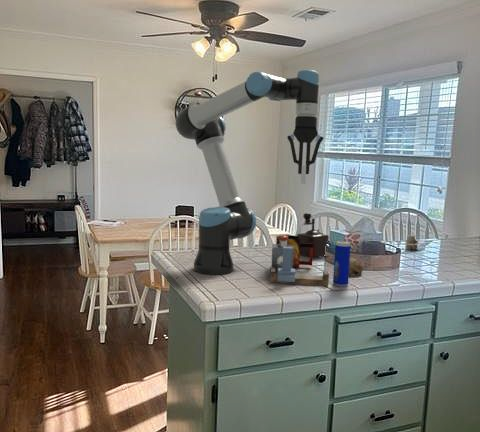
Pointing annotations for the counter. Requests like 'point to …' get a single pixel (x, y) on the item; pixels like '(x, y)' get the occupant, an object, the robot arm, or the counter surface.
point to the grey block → (279, 256)
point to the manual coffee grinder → (313, 239)
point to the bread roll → (354, 267)
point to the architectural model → (411, 242)
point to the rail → (303, 279)
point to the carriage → (286, 266)
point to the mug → (298, 250)
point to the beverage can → (341, 263)
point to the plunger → (283, 240)
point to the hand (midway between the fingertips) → (302, 183)
